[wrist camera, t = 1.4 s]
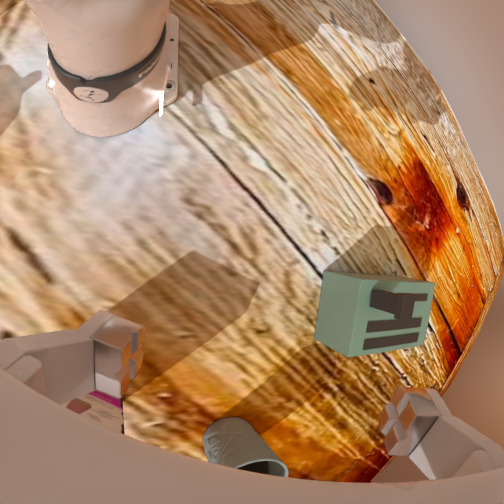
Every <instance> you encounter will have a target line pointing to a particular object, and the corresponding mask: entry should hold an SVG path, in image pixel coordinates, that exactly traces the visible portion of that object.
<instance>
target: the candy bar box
mask: <svg viewBox="0 0 504 504" xmlns="http://www.w3.org/2000/svg"><path fill="white" fill-rule="evenodd" d="M61 405H62V406H64V407H66V408H68V409H70V410H71V411H73V412H75V413H77V414H79V415H81V416H84V417H86V418H88V419H90V420H92V421H94V422H96V423H98V424H101V425H103V426H105V427H107V428H110V429H112V430H114V431H117V432H119V433H122V434H124V422H123V421H124V420H123V419H124V418H123V399H122V398H121V399H119V398H116V397H113V396H111V395H108V394H106V393H103V392H101V391H98V390H96V389H95V391H92V392H90V393H88V394H85V395H83V396H80V397H78V398H75V399H73V400H71V401H68V402H66V403H63V404H61Z"/></svg>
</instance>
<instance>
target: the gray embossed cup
mask: <svg viewBox="0 0 504 504" xmlns="http://www.w3.org/2000/svg"><path fill="white" fill-rule="evenodd" d="M203 446H204V449H205V453H206V456H207V459H208V462H210V463H214V464H218V465H222V466H226V467H231V468H235V469H240V470H245V471H250V472H256V473H261V474H267V475H274V476H280V477H288V468H287V466H286V465H285V464H284V463H283V461H282V460H281V459H280V458H279V457H278V456H277V455H276V454H275V453H274V452H273V451H272V450H271V448H269V446H268V445H267V444H266V443H265V442H264V440H263V439H262V438H261V437H260V436H259V435H258V433H257V432H256V431H255V430H254V429H253V427H252V426H251V425H250V424H249V423H248V422H247V421H245V420H244V419H241V418H237V417H228V418H223V419H220V420H218V421H216V422H214V423H213V424H211V425H210V426H209V427H208V428H207V430H206V431H205V433H204V436H203Z"/></svg>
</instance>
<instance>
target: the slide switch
mask: <svg viewBox="0 0 504 504" xmlns="http://www.w3.org/2000/svg"><path fill="white" fill-rule="evenodd" d="M415 298H416V294H412V293H398V294H397V293H393V292H389V291H385V290H372V294H371V301H370V307H372V308H375V309H378V310H382V311H385V312H388V313H391V314H394V318H395V319H398V320H407V319H412V315H413V309H414V304H415Z"/></svg>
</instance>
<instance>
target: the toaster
mask: <svg viewBox="0 0 504 504" xmlns="http://www.w3.org/2000/svg"><path fill="white" fill-rule="evenodd" d="M434 286H435V283H433V282H428V281H423V280H417V279H412V278H406V277H401V276H390V275H375V274H361V273H347V272H334V271H324V273H323V280H322V288H321V295H320V302H319V309H318V316H317V322H316V328H315V335H314V339H316V340H318V341H319V342H321V343H323V344H325V345H327V346H328V347H330V348H332V349H334V350H336V351H337V352H339V353H341V354H343V355H345V356H347V357H354V356H361V355H368V354H375V353H381V352H387V351H393V350H399V349H404V348H409V347H415V346H420V345H423V344H424V340H425V335H426V330H427V326H428V321H429V315H430V310H431V304H432V298H433V292H434ZM372 290H385V291H389V292H393V293H397V294H398V293H412V294H416V298H415V304H414V309H413V315H412V319H407V320H398V319H395V318H394V314H391V313H388V312H385V311H382V310H378V309H375V308H372V307H370V301H371V294H372Z"/></svg>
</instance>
